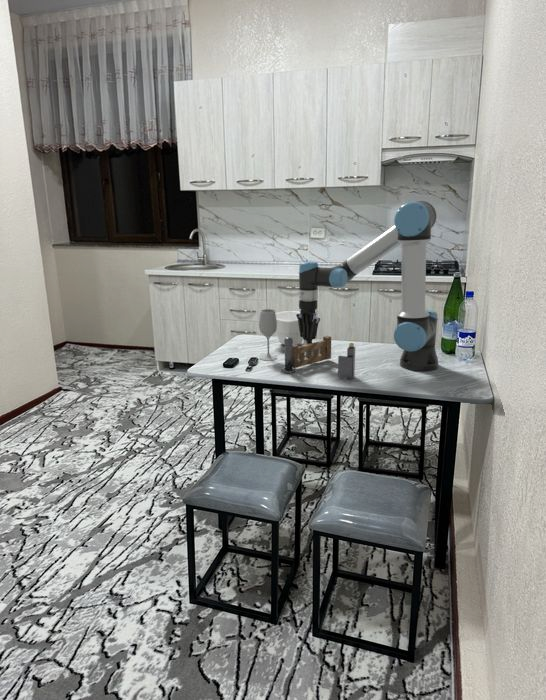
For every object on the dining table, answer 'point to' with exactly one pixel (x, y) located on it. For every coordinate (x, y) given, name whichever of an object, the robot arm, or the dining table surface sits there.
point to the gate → (324, 352)
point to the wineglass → (268, 329)
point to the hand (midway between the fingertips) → (307, 354)
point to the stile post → (347, 363)
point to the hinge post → (288, 357)
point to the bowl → (288, 327)
